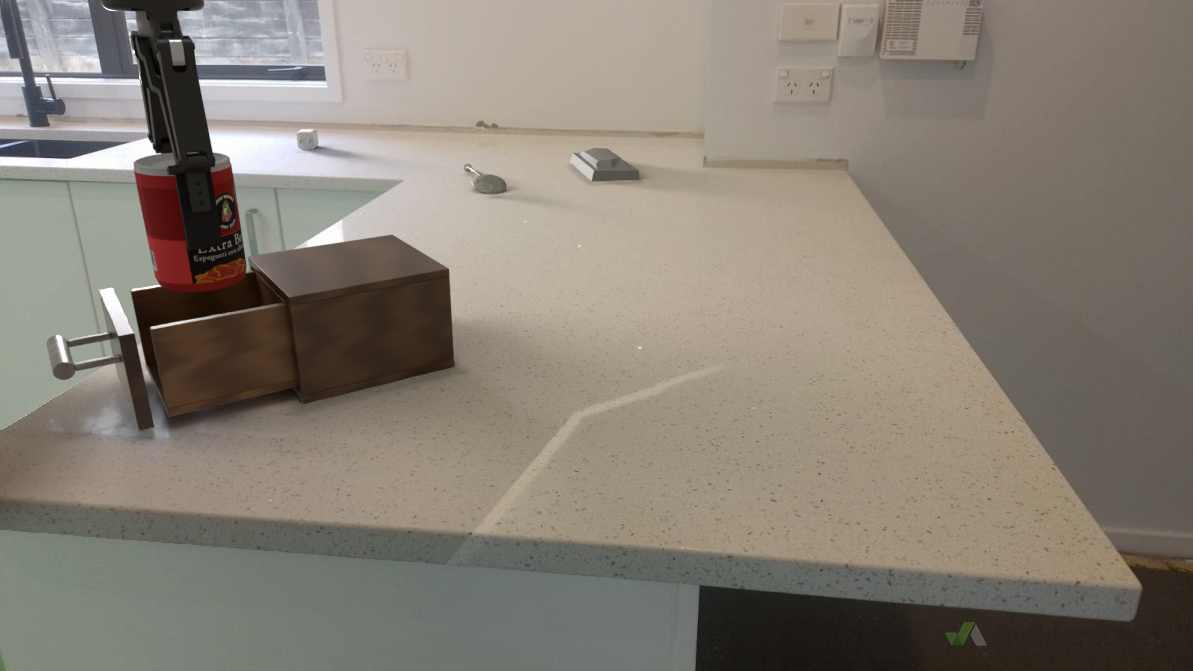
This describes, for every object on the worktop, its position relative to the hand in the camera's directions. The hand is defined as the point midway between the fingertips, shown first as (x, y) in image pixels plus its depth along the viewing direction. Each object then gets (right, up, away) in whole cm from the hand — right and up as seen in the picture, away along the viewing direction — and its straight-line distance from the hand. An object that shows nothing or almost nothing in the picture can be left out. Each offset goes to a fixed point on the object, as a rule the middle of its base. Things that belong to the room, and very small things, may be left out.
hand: (194, 235), depth 75 cm
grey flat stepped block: (+38, +26, +106) cm, 115 cm away
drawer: (-3, -14, +4) cm, 15 cm away
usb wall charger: (-33, +35, +124) cm, 133 cm away
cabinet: (+11, -11, +13) cm, 20 cm away
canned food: (0, -4, +2) cm, 4 cm away
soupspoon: (+13, +22, +93) cm, 96 cm away
